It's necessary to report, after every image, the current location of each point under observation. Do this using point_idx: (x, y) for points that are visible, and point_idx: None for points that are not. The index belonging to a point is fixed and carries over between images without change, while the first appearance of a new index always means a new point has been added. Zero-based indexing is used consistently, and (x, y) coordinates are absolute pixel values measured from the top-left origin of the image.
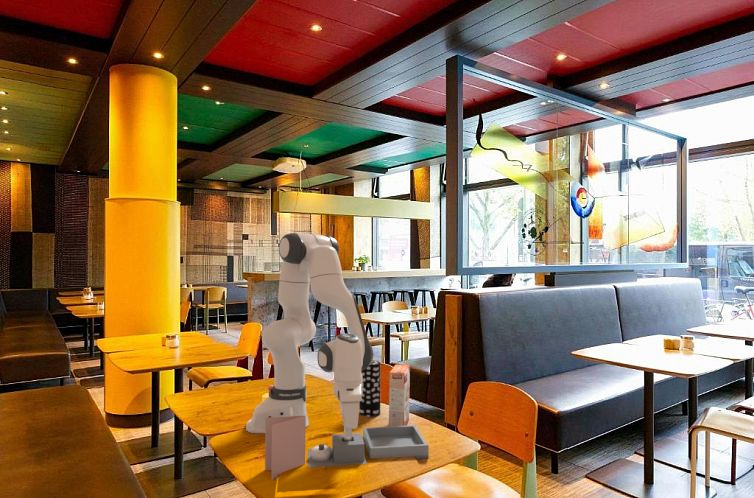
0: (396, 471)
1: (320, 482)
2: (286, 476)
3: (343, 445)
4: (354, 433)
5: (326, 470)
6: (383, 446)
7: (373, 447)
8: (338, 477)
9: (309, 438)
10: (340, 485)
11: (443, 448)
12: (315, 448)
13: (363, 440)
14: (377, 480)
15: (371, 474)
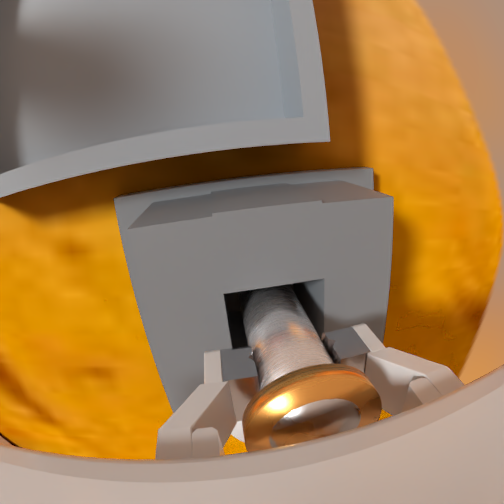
0: (406, 37)
1: (439, 341)
2: None
3: (382, 339)
4: (143, 285)
5: None
6: (296, 41)
7: (313, 115)
8: (428, 291)
9: (47, 421)
10: (473, 276)
11: None
12: None
13: (319, 201)
14: (469, 138)
15: (430, 153)
